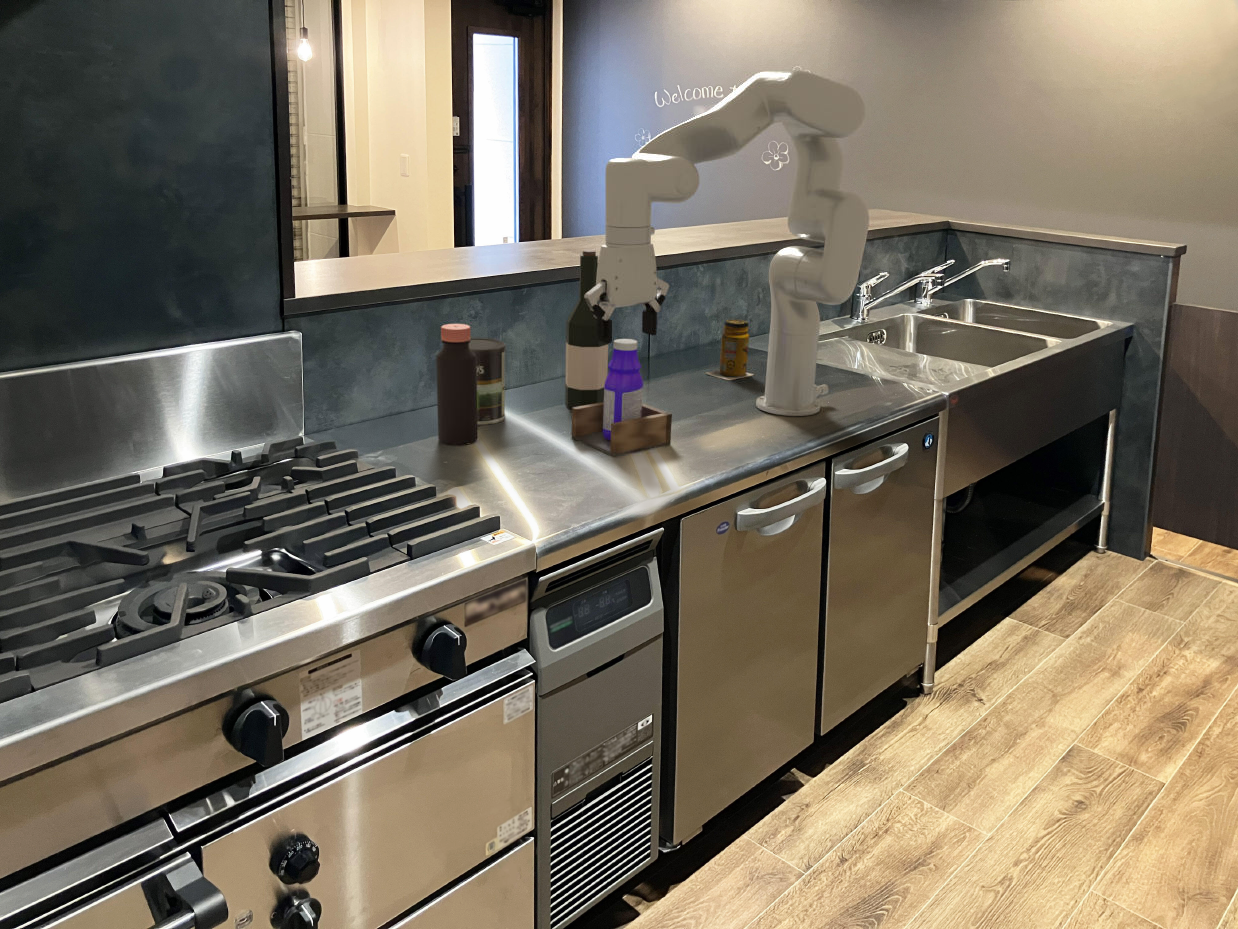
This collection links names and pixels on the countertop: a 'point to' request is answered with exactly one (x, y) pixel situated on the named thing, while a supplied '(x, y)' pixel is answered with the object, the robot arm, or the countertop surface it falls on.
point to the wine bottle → (585, 344)
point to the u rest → (622, 430)
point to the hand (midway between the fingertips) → (627, 337)
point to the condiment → (733, 351)
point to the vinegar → (456, 387)
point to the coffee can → (490, 379)
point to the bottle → (622, 386)
